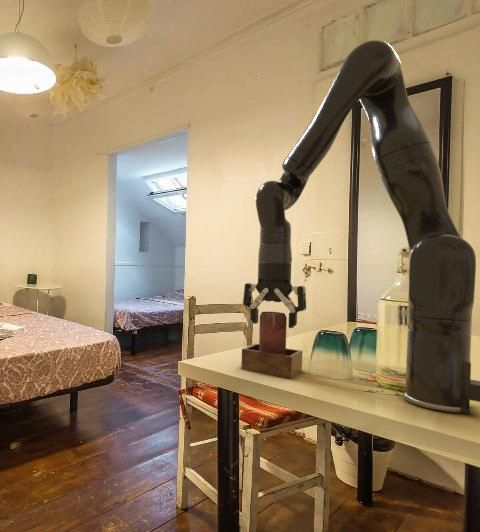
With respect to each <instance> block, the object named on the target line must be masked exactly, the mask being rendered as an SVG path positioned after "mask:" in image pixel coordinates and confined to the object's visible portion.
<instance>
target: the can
mask: <svg viewBox="0 0 480 532" xmlns="http://www.w3.org/2000/svg"><path fill="white" fill-rule="evenodd" d="M287 317H288V316H287V315H286V313H284V312H280V311H261V312H260V314H259V333H258V335H259V336H258V337H259V338H258V344H259V351H261V352H267V353H273V354H279V355H285V356H286V348H287V325H288V323H287V322H288V318H287Z"/></svg>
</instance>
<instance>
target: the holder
mask: <svg viewBox="0 0 480 532" xmlns="http://www.w3.org/2000/svg"><path fill="white" fill-rule="evenodd" d="M240 367H241V370H245V371H251V372H255V373H259V374H260V373H261V374H266V375H270V376H277V377H280V378H285V379H290V380H291V379H293V378H294V377H296V376H297V375H298V374H300V373H301V372H302V371H303V350H300V349H294V348H287V347H286V356H285V355H279V354H273V353H267V352H261V351H259V343H253V344H251V345H248V346H245V347H243V348H241V366H240Z"/></svg>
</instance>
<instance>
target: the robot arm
mask: <svg viewBox="0 0 480 532" xmlns="http://www.w3.org/2000/svg"><path fill="white" fill-rule="evenodd" d="M399 57H400V56H399V55H398V54H397V53H396V51H395V50H394V48H393V47H392V46H391V45H390V44H389V43H388V42H386V41H384V40H380V39H371V40H368V41H364V42H362V43H361V44H359V45H357V46H356V47H355V48H353V50H351V51H350V53H349V54H348V55H347V56H346V57H345V59H344V61H343V63H342V64H341V67H340V69H339V70H338V72H337V74H336V75H335V78H334V80H333V82H332V84H331V86H330V88H329V90H328V92H327V94H326V95H325V97H324V99H323V101H322V102H321V104H320V106H319V108H318V109H317V111H316V113H315V115H313V118H312V119H311V121H310V122H309V124H308V126H307V127H306V129H305V131H303V133H302V135H301V136H300V137H299V139H298V140H297V142H296V143H295V144H294V146H293V147H292V149H291V150H290V152H289V153H288V154H287V156H286V157H285V159H284V160H283V162H282V164H281V168H282V170H283V173H282V175H281V176H280V179H279V180H278V181H277V180H268V181H265V182H264V183H262V184H261V185H260V186H259V188H258V189H257V191H256V195H255V208H256V213H257V218H258V219H257V220H258V222H259V226H260V227H259V228H260V229H259V247H258V255H257V256H258V258H257V283H256V284H255V283H252V282H247V283H245V284H244V288H243V289H244V290H243V299H242V304H243V306H244V307H248V308H249V309H250V318H249V319H250V322H252V324H255V325H257V324H258V323H259V311H260V310H259V307H260V306H261V304H262V303H264V301H265V302H275V303H281V302H282V303H283V305H284V306H285V307H286V308H287V309H288V311H289V312H288V329H294V327H296V326H297V324H298V313H299V312H304V311H306V310H307V296H306V295H307V294H306V293H307V291H306V286H304V285H298V286H296V285H295V286H293V285H292V262H293V255H292V252H293V251H292V244H291V243H292V226H291V222H290V221H288V220H287V218H286V212H285V211H287V210H290V209H291V208H292V207H293V206H294V205H295V204H296V203H297V202H298V200H299V199H300V197H301V195H302V193H303V192H304V190H305V187H306V185H307V184H308V181H309V179H310V177H311V175H312V174H313V173H314V172H315V170H316V169H317V168H318V166H319V165H320V164H321V163H322V161H323V160H324V159H325V158H326V156H327V155H328V153H329V152H330V150H331V148H332V146H333V144H334V142H335V140H336V139H337V136H338V134H339V132H340V130H341V128H342V126H343V124H344V122H345V120H346V119H347V117H348V115H349V114H350V112H352V111H351V110H352V109H353V108H354V107H355V105H356V104H357V103H358V101H359V102H360V104H361V106H362V108H363V110H364V112H365V114H366V117H367V119H368V123H369V128H370V129H369V130H370V143H371V144H370V145H371V151H372V156H373V160H374V163H375V166H376V169H377V172H378V174H379V177H380V181H381V182H382V184H383V187H384V189H385V191H386V193H387V196H388V197H389V199H390V201H391V203H392V205H393V207H394V208H395V210H396V212H397V214H398V215H399V217H400V220H401V222H402V226H403V229H404V233H405V237H406V241H407V245H408V250H409V263H408V264H409V268H408V269H409V270H408V296H407V297H408V298H407V309H408V310H407V331H406V335H407V337H406V359H405V360H406V361H405V362H406V363H405V386H404V400H405V401H407V402H408V403H410V404H413V405H416V406H419V407H422V408H425V409H430V410H433V411H440V412H446V413H454V414H455V413H457V414H464V415H470V405H471V404H470V403H471V401H473V402H480V380H476V379H472V378H471V377H472V376H471V375H472V363H471V352H472V351H471V350H472V349H471V348H472V325H473V324H472V322H473V321H472V319H473V310H474V304H475V292H476V291H475V289H476V272H477V258H476V257H477V256H476V252H475V250H474V248H473V246H472V245H471V243H469V242H468V241H467V240H465V239H463V238H462V237H461V235H460V233H459V231H458V229H457V227H456V225H455V223H454V221H453V219H452V217H451V215H450V212H449V210H448V207H447V201H446V195H445V190H444V183H443V177H442V172H441V168H440V165H439V162H438V158H437V155H436V153H435V151H434V147H433V145H432V143H431V140H430V138H429V135H428V134H427V131H426V130H425V127H424V125H423V124H422V121H421V120H420V118H419V117H418V115H417V113H416V112H415V110H414V108H413V105H411V102H410V99H409V96H408V92H407V87H406V84H405V79H404V73H403V69H402V64H401V63H402V62H401V58H399ZM255 290H256V291H257V293H258V295H257V296H256V298H254V301H252V296H253V292H255ZM292 292H294V295H296V296H297V306H296V305H295V303H294V301H293V300H292V298H291V297H290V296H289V295H290V294H291V293H292Z"/></svg>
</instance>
